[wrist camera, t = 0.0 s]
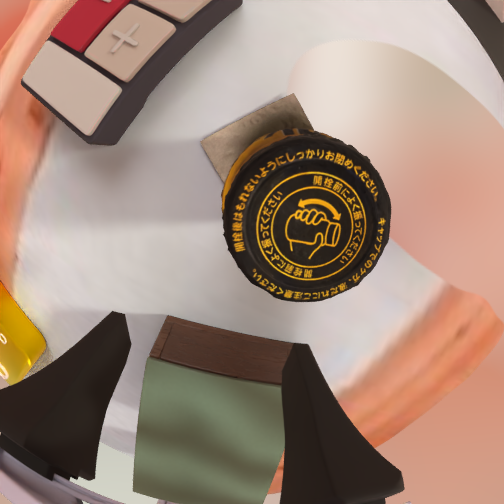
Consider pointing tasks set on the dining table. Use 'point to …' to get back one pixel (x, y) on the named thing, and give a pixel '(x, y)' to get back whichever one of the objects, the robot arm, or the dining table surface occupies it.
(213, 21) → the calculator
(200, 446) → the sage green tile
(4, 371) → the element tile
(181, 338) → the brown box
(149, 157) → the dining table surface
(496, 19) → the candle holder
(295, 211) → the condiment
